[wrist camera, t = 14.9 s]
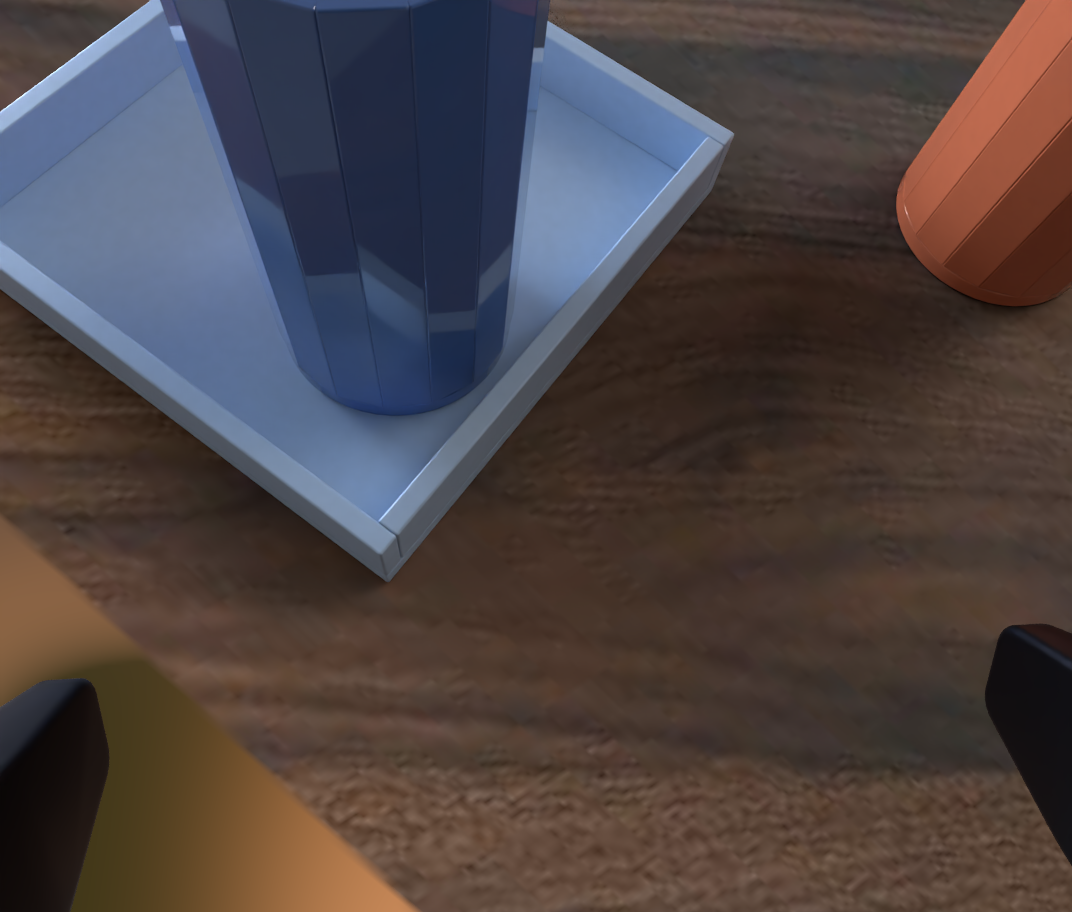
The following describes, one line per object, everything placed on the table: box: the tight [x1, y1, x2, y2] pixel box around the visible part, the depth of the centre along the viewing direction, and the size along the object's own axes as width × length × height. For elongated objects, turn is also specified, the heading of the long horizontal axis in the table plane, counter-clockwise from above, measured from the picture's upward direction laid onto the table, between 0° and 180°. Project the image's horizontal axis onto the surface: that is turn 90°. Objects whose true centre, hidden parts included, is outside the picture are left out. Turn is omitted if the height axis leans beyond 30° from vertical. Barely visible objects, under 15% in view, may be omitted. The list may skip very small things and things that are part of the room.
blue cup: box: [160, 0, 550, 416], centre depth 19 cm, size 6×6×13 cm
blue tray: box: [0, 0, 734, 582], centre depth 26 cm, size 16×16×3 cm
